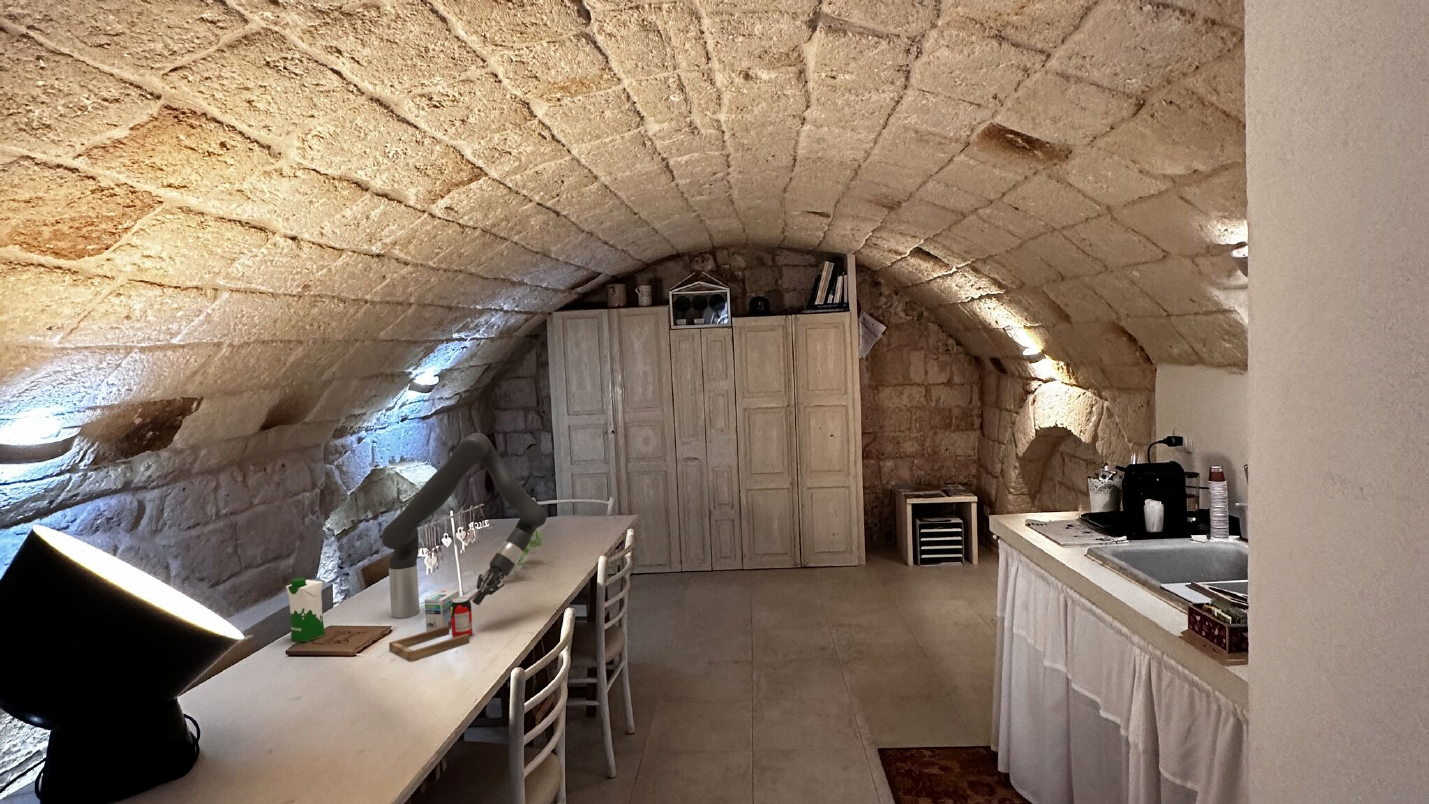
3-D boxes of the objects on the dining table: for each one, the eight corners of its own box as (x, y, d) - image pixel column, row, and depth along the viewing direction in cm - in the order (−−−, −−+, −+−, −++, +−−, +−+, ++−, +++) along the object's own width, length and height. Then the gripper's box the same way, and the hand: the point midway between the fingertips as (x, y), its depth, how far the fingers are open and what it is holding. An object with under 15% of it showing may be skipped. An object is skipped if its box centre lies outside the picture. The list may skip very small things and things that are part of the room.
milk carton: (286, 641, 247) (282, 580, 246) (311, 631, 255) (307, 572, 254) (305, 644, 243) (300, 582, 242) (329, 634, 251) (326, 574, 250)
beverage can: (475, 632, 249) (473, 596, 248) (469, 639, 243) (467, 602, 242) (455, 633, 249) (453, 597, 248) (449, 640, 242) (447, 603, 242)
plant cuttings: (550, 577, 334) (509, 547, 335) (572, 546, 332) (530, 516, 333) (523, 603, 299) (478, 570, 300) (548, 569, 297) (501, 535, 298)
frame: (389, 650, 235) (389, 642, 235) (447, 632, 249) (446, 625, 249) (410, 661, 226) (410, 653, 226) (469, 642, 240) (469, 634, 240)
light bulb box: (444, 632, 250) (442, 600, 249) (425, 631, 251) (423, 599, 251) (461, 621, 260) (459, 590, 260) (443, 620, 262) (441, 589, 261)
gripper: (488, 549, 260) (456, 593, 251) (510, 555, 251) (478, 601, 242) (502, 561, 264) (472, 605, 256) (524, 567, 255) (494, 613, 247)
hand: (475, 603), depth 249 cm, fingers closed
